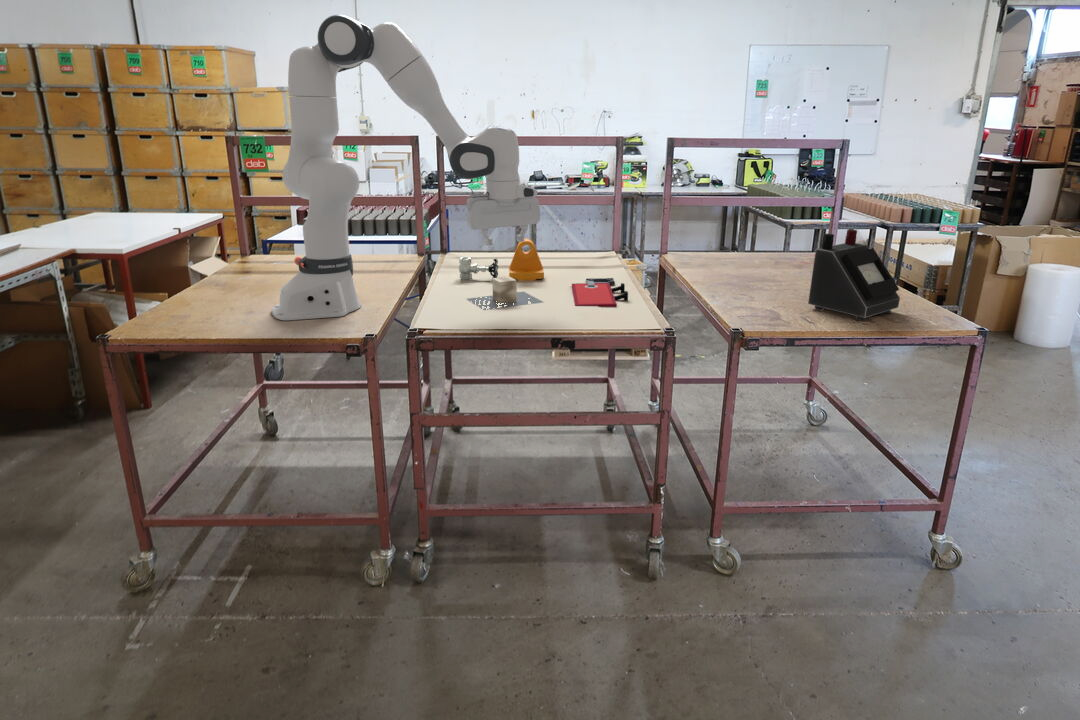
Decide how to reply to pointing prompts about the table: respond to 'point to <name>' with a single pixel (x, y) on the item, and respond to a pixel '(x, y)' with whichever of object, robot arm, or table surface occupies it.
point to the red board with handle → (597, 293)
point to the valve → (475, 268)
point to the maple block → (504, 289)
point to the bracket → (526, 263)
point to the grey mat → (521, 300)
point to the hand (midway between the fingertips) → (504, 243)
